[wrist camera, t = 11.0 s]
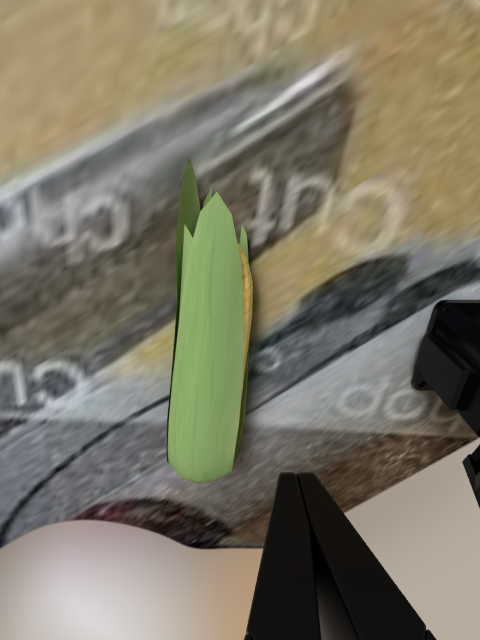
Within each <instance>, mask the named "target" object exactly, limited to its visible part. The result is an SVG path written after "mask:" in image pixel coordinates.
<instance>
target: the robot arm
mask: <svg viewBox="0 0 480 640" xmlns="http://www.w3.org/2000/svg"><path fill="white" fill-rule="evenodd" d="M444 307H447V308H446V309H445V310H444V311H442V309H443V308H444ZM415 367H416V369H415V372H414V376H413V379H412V384H413V386H414V387H415V389H417V390H434V391H435V392H436V393H437V394H438V396H439V397H440V398H441V399H442V400H443V402H444V403H445V404H446V405H447V406H448V408H449V409H450V410H452V411H457V412H458V413H459V414H460V415H461V417H462V418H463V419H464V420H465V421H466V422H467V424H468V425H469V426H470V427H471V428H472V430H473V431H474V432H475V433H476V434H477V435H478V437H480V300H442V301H440V302H438V303H437V304H436V305H435V307H434V310H433V313H432V317H431V320H430V323H429V327H428V330H427V333H426V335H425V336H424V339H423V343H422V346H421V349H420V353H419V356H418V359H417V362H416V366H415ZM420 382H422V383H420ZM419 383H420V384H419ZM463 465H464V468H465V470H466V473H467V476H468V478H469V481H470V484H471V486H472V489H473V492H474V494H475V497H476V499H477V502H478V505H479V508H480V445H479V446H478V447H477V448H476V450H475V451H474V452H473V453H472V454H469V455H468V456H467V457H466V458H465V459H464V460H463ZM244 640H436V638H435V637H434V636H433V634H432V633H431V632H430V630H426V625H425V624H424V622H423V621H422V620H421V618H420V617H419V616H418V614H417V613H416V611H415V610H414V609H413V607H412V606H411V605H410V603H409V602H408V600H407V599H406V598H405V596H404V595H403V594H402V592H401V591H400V590H399V588H398V587H397V585H396V584H395V583H394V582H393V580H392V579H391V577H390V576H389V575H388V573H387V572H386V570H385V569H384V568H383V567H382V565H381V564H380V562H379V561H378V560H377V558H376V557H375V555H374V554H373V553H372V551H371V550H370V549H369V547H368V546H367V545H366V543H365V542H364V540H363V539H362V538H361V536H360V535H359V534H358V533H357V531H356V530H355V528H354V527H353V525H352V524H351V523H350V521H349V520H348V519H347V517H346V516H345V515H344V513H343V512H342V510H341V509H340V508H339V506H338V505H337V504H336V502H335V501H334V500H333V498H332V497H331V495H330V494H329V493H328V491H327V490H326V489H325V487H324V486H323V485H322V483H321V482H320V480H319V479H318V478H317V476H316V475H315V474H314V473H312V472H298V473H297V474H296V473H294V472H281V473H280V474H279V477H278V482H277V486H276V491H275V496H274V501H273V505H272V510H271V515H270V520H269V524H268V529H267V534H266V539H265V544H264V548H263V554H262V558H261V563H260V568H259V572H258V577H257V582H256V586H255V591H254V597H253V601H252V606H251V611H250V615H249V620H248V625H247V629H246V635H245V638H244Z"/></svg>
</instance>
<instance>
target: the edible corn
mask: <svg viewBox="0 0 480 640" xmlns="http://www.w3.org/2000/svg"><path fill="white" fill-rule="evenodd" d="M211 191H212V188H211V189H210V191H209V193H208V195H207V197H206V199H205V201H204V204H203V209H202V210H201V211H200V204H199V198H198V191H197V184H196V178H195V173H194V170H193V166H192V162H191V158H190V157H189V160H188V163H187V167H186V170H185V173H184V177H183V184H182V192H181V200H180V207H179V215H178V223H177V230H176V272H177V311H176V324H175V337H174V350H173V363H172V375H171V386H170V396H169V407H168V418H167V462H168V463H169V464H170V465H171V466H172V467H173V468H174V469H175V471H176V472H177V473H178V474H179V475H180V476H181V477H182V479H184V480H189V481H194V482H210V481H215V480H217V479H219V478H221V477H223V476H226V475H228V474H231V473H232V468H233V467H234V464H235V462H236V459H237V456H238V452H239V448H240V443H241V438H242V433H243V425H244V418H245V409H246V396H247V383H248V360H249V337H250V329H251V322H252V308H253V280H252V276H251V272H250V268H249V260H248V245H247V234H246V232H245V230H244V227H243V225H242V228H241V237H240V244H239V243H237V239H236V234H235V229H234V224H233V219H232V214H231V213H230V211H229V209H228V208H227V206H226V205H225V203H224V202H223V200H222V199H221V197H220V196H219V194H218V193H216V194H215V195H214V196H213V197H212V199H211Z"/></svg>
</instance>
